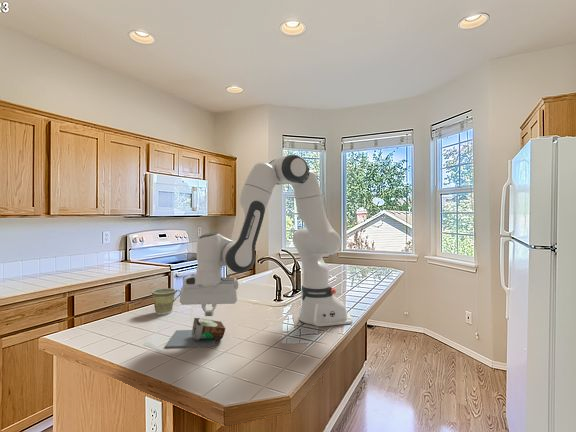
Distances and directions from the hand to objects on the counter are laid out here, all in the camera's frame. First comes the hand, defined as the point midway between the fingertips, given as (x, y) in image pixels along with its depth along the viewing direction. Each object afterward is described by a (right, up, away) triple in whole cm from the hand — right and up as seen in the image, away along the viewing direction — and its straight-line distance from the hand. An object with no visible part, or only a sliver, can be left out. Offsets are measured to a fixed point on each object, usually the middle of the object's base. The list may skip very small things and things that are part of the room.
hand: (209, 315), depth 119 cm
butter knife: (-12, -9, -11) cm, 19 cm away
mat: (-6, -8, 0) cm, 10 cm away
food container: (+5, -6, 0) cm, 8 cm away
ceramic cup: (-27, -8, +31) cm, 42 cm away
